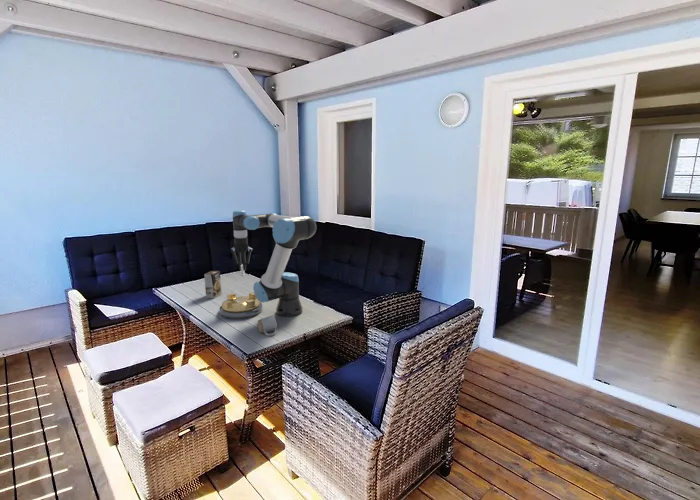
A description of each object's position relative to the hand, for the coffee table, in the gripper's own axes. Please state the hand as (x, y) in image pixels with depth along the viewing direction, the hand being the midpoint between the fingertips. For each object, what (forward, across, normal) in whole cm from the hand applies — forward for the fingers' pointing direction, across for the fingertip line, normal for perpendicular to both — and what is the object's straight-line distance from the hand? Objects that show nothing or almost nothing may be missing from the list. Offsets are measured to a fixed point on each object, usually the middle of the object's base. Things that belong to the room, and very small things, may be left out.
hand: (243, 275), depth 220 cm
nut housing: (+19, 0, +9) cm, 21 cm away
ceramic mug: (+19, -21, +38) cm, 48 cm away
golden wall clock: (+16, 0, +9) cm, 18 cm away
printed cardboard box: (+20, +24, -19) cm, 36 cm away
